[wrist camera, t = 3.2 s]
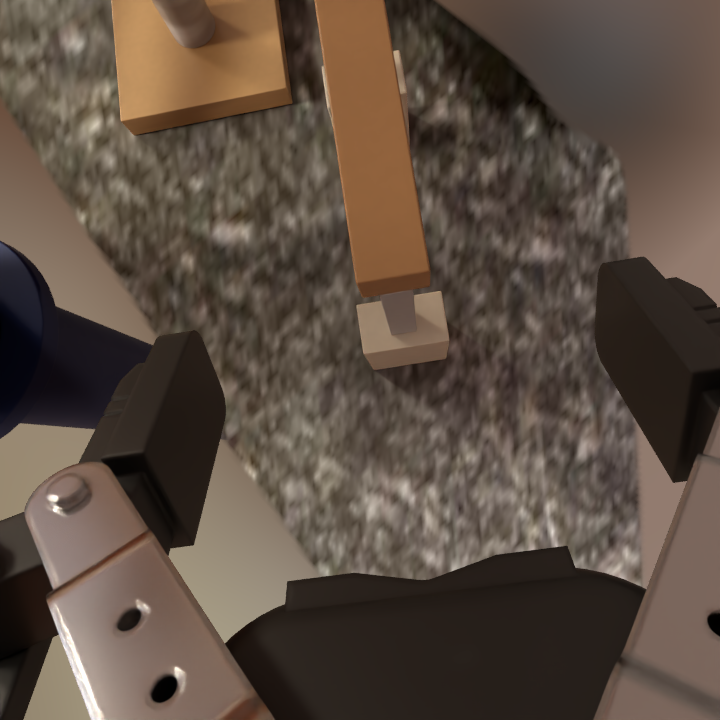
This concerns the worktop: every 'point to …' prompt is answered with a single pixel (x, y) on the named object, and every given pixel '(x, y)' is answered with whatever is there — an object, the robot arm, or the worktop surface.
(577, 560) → the worktop surface
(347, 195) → the brown blocky piece
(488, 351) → the worktop surface
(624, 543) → the worktop surface
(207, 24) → the headphone stand
